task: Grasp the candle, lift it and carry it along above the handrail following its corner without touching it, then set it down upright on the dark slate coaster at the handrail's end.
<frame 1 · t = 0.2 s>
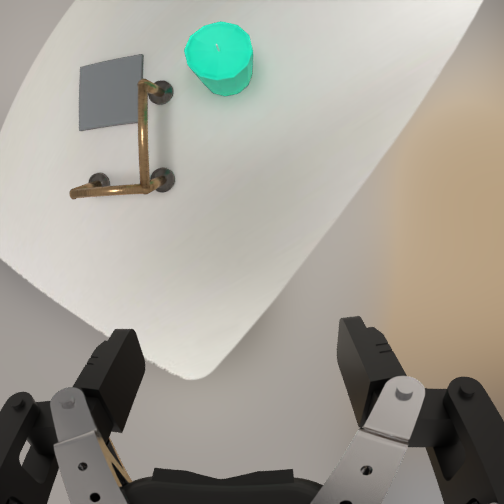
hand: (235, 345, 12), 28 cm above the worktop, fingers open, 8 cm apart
handrail: (161, 92, 33), on the worktop
candle: (227, 73, 33), on the worktop
coaster: (110, 92, 33), on the worktop
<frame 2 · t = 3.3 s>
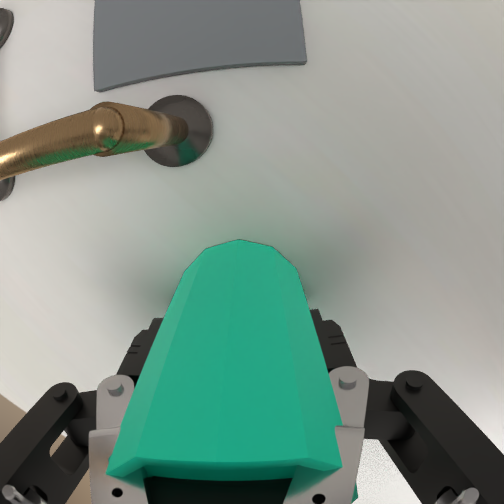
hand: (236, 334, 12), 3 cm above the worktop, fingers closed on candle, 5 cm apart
handrail: (177, 130, 12), on the worktop
candle: (241, 296, 15), on the worktop, touching gripper
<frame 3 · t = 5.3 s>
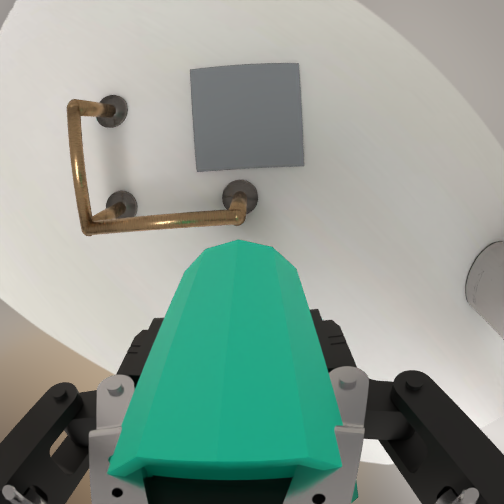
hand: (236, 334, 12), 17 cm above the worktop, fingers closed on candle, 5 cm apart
handrail: (240, 196, 27), on the worktop
candle: (241, 296, 15), point 13 cm above the worktop, touching gripper
coaster: (247, 115, 24), on the worktop
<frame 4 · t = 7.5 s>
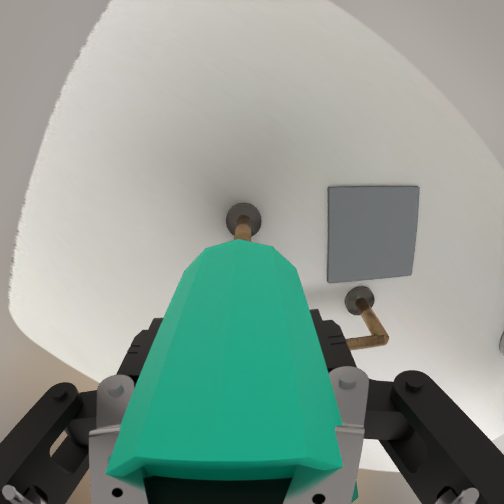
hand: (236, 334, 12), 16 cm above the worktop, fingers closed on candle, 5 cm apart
handrail: (358, 299, 30), on the worktop
candle: (241, 296, 15), point 13 cm above the worktop, touching gripper
coaster: (373, 233, 28), on the worktop
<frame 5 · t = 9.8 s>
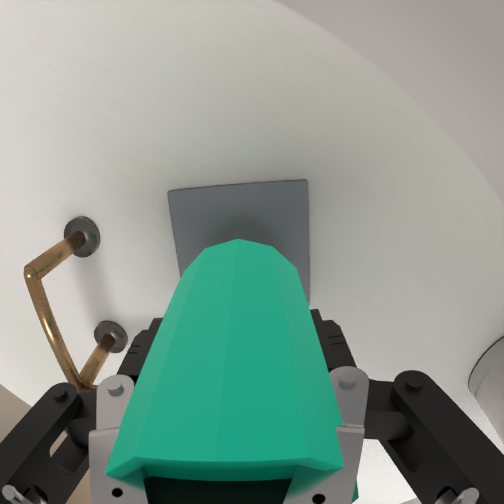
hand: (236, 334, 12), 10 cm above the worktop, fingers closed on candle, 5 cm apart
handrail: (237, 333, 24), on the worktop
candle: (241, 296, 15), point 7 cm above the worktop, touching gripper
coaster: (242, 249, 22), on the worktop
when the fingers open (5 cm above the worktop, at t = 11.6 s): candle drops 1 cm, resting on coaster.
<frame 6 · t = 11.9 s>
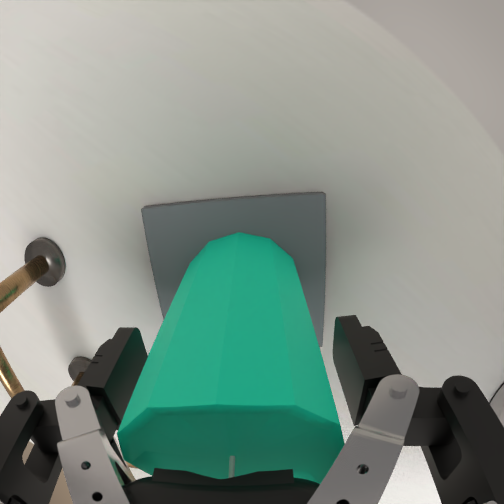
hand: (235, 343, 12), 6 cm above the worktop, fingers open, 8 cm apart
handrail: (234, 376, 19), on the worktop
candle: (242, 285, 16), resting on coaster
coaster: (239, 280, 17), on the worktop
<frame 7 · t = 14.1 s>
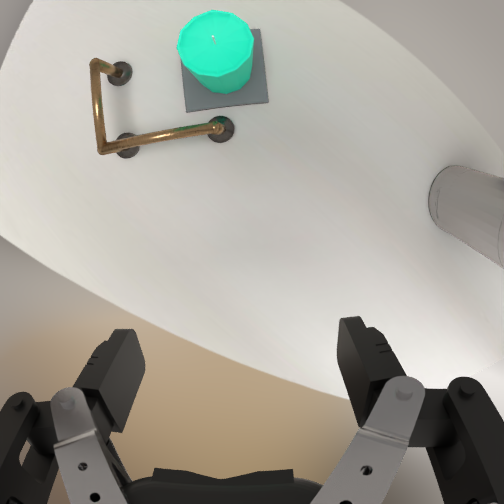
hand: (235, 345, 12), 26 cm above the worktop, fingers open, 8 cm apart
handrail: (220, 129, 33), on the worktop
candle: (224, 69, 30), resting on coaster
coaster: (223, 69, 30), on the worktop
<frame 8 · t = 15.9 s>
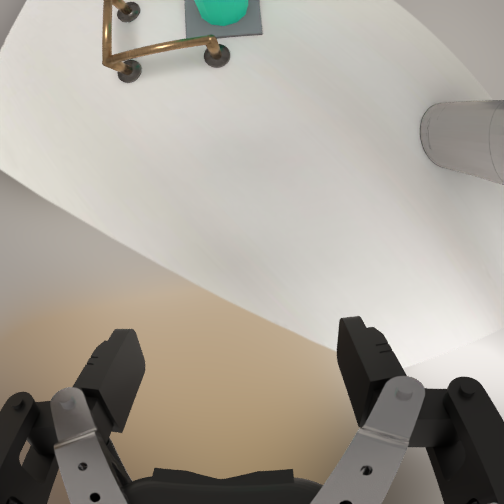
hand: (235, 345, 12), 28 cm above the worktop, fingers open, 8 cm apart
handrail: (217, 56, 31), on the worktop
candle: (223, 6, 29), resting on coaster
coaster: (222, 7, 29), on the worktop
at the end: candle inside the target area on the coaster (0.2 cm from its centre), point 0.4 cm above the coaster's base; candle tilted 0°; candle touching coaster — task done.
